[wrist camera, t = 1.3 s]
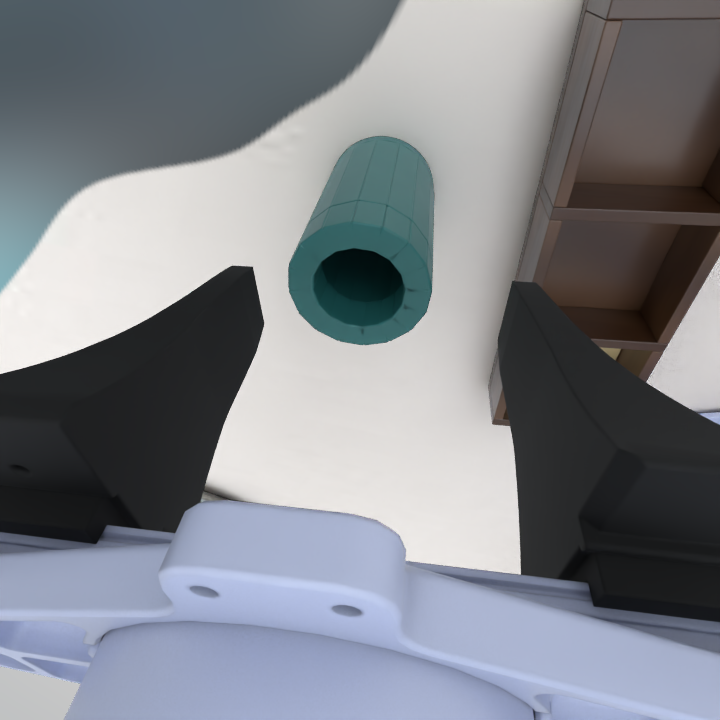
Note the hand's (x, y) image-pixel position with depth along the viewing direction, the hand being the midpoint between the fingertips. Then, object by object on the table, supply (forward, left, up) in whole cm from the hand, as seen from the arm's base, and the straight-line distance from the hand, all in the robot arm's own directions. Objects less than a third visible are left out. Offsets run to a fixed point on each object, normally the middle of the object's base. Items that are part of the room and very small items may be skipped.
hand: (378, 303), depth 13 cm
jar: (0, +1, -10) cm, 10 cm away
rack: (-5, -8, -10) cm, 14 cm away
